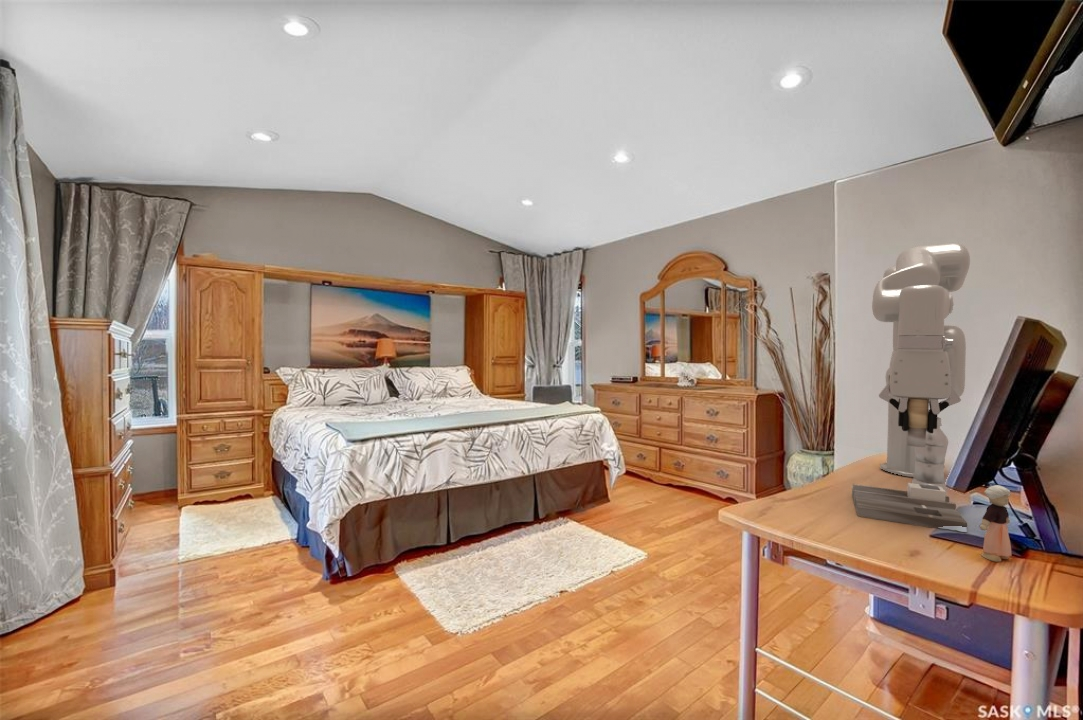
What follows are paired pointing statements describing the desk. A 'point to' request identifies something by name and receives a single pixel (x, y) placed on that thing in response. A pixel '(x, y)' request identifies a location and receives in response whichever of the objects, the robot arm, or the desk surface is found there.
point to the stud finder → (926, 492)
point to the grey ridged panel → (904, 508)
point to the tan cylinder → (917, 421)
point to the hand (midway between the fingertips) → (917, 430)
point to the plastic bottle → (931, 459)
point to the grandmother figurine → (996, 525)
